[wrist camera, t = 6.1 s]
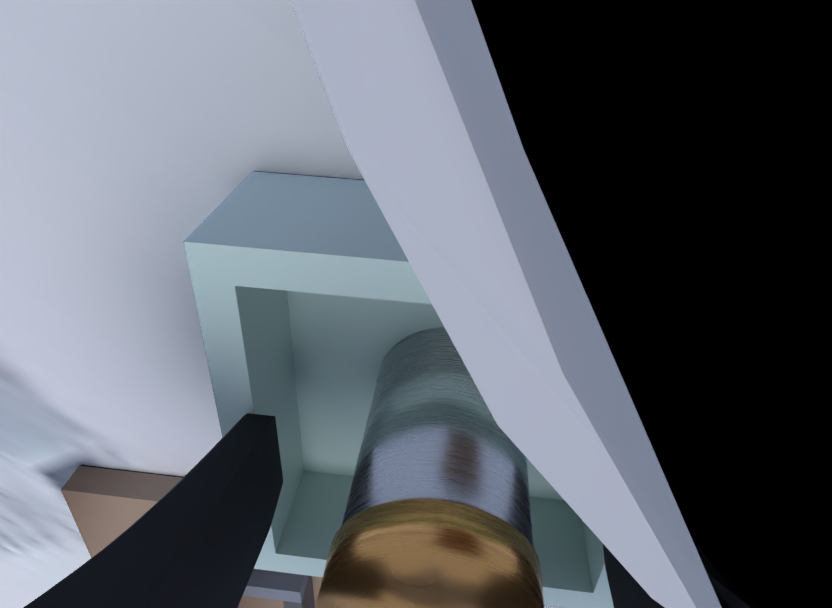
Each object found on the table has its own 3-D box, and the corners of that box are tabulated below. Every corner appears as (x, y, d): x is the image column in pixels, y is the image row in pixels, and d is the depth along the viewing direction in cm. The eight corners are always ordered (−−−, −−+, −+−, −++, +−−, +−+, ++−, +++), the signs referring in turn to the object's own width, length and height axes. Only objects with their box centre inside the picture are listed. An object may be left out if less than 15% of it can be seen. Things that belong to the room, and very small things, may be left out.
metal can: (503, 450, 16) (510, 696, 11) (366, 423, 16) (308, 657, 10) (544, 341, 13) (577, 583, 8) (385, 309, 13) (325, 533, 8)
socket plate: (375, 500, 18) (362, 562, 17) (374, 655, 24) (364, 715, 22) (79, 465, 19) (36, 522, 17) (144, 624, 25) (116, 680, 23)
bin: (694, 206, 12) (759, 292, 9) (596, 500, 17) (618, 614, 14) (252, 171, 13) (183, 241, 10) (287, 465, 18) (248, 567, 15)
